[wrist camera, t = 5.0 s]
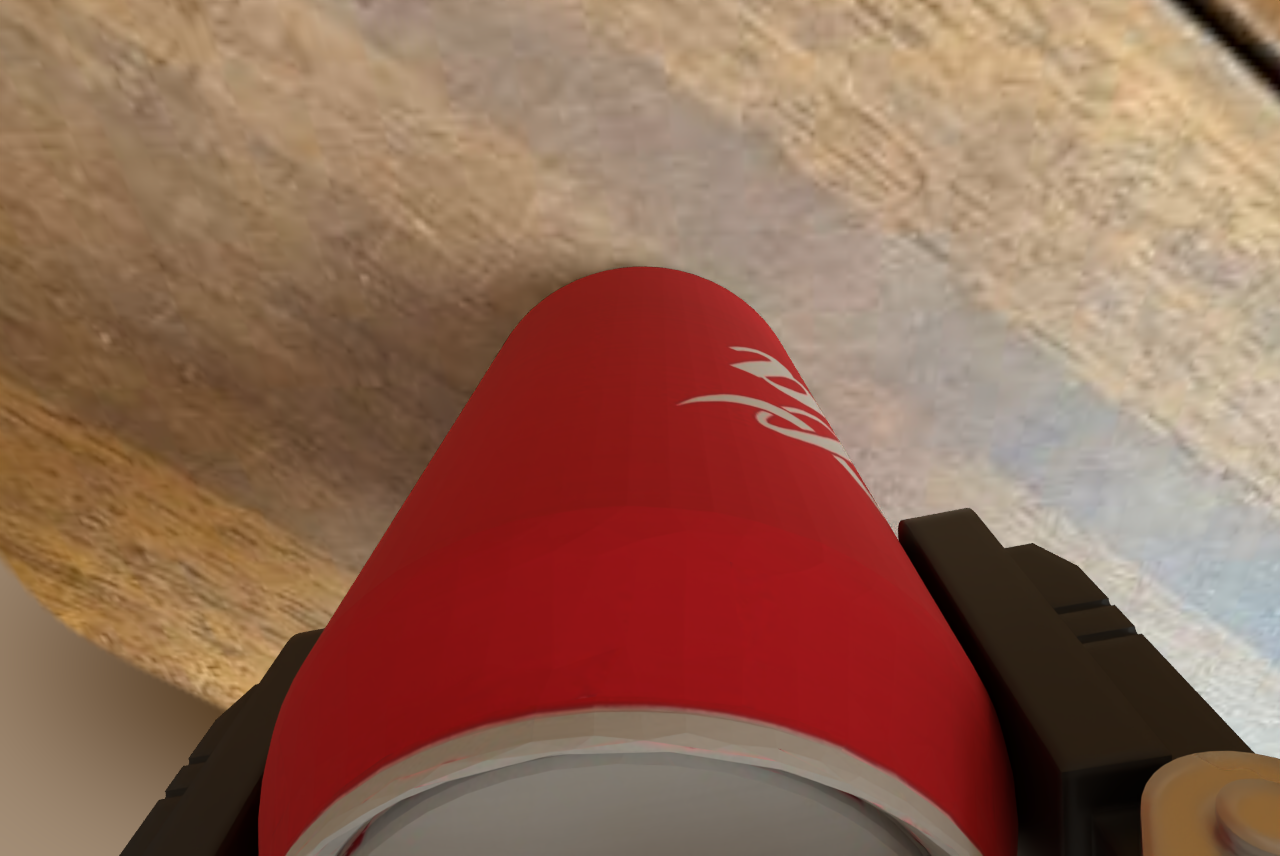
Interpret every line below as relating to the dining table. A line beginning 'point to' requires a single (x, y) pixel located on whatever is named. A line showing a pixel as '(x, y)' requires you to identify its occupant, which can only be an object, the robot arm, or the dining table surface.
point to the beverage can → (638, 623)
